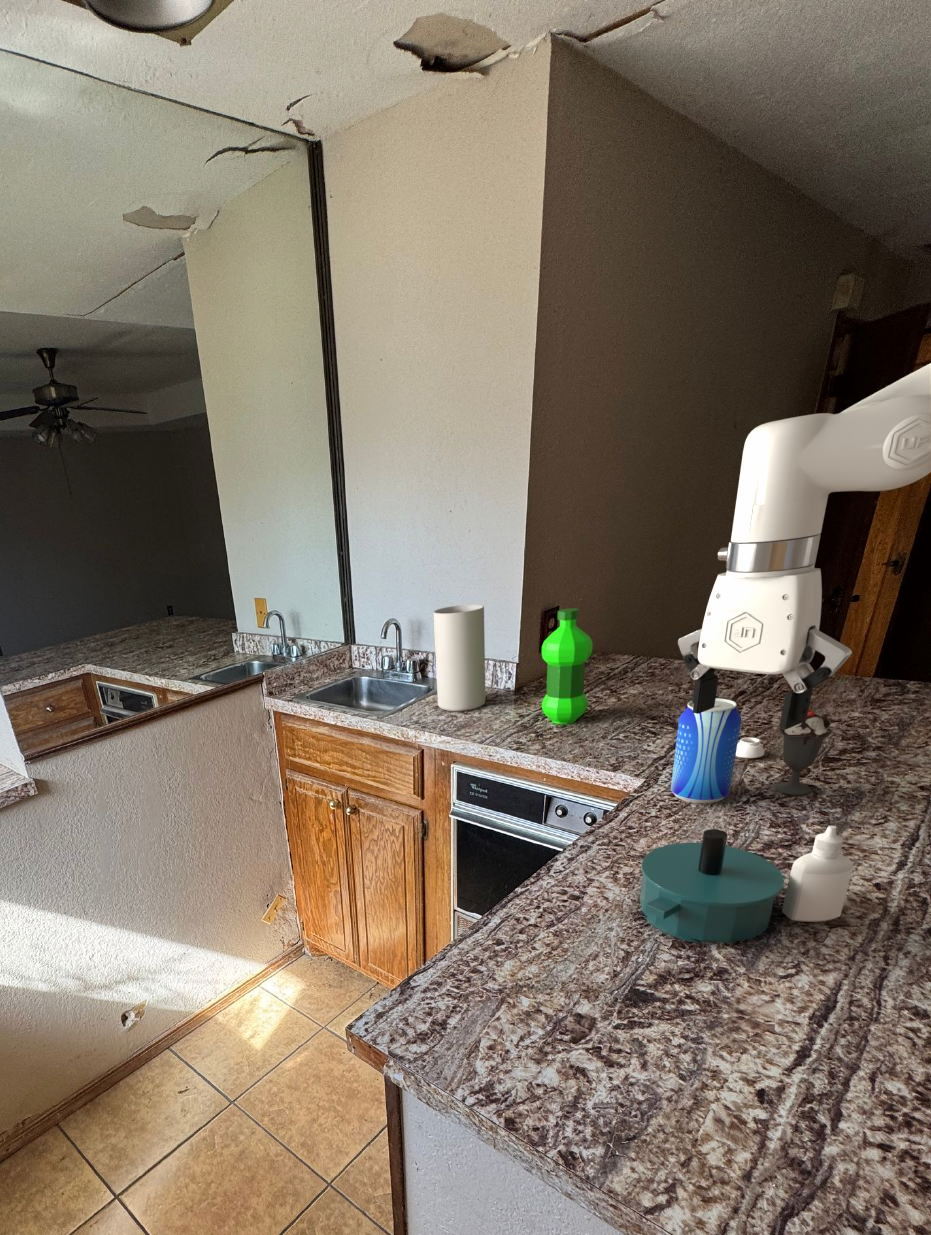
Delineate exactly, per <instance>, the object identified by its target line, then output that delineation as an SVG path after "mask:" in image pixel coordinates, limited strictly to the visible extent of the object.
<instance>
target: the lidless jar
mask: <svg viewBox="0 0 931 1235" xmlns="http://www.w3.org/2000/svg"><path fill="white" fill-rule="evenodd" d="M763 756H765V748H764V746H763V744H762V743H761V739H759V738H757V737H750V736H749V737H742V738H740V740H739V741H738V744H737V750H736V756H735V757H738V758H742V759H758V758H761V757H763Z"/></svg>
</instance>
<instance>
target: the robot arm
mask: <svg viewBox="0 0 931 1235" xmlns="http://www.w3.org/2000/svg"><path fill="white" fill-rule="evenodd" d="M739 472H740V473H739V480H738V487H737V494H736V499H735V507H734V508H735V509H734V515H733V522H732V531H731V538H730V542H728V546H725V547H721V548H720V549H719V550H718V552H717V559H718V561H725V562H726V564H725V568H726V572H722V573H718V574H717V577H716V578H715V579H716V580H715V582H714V584H713V587H712V590H711V593H710V595H709V599H708V602H707V605H706V610H705V614H704V618H703V622H702V627H701V628H700V629H698V630H696V631H693V632H691V633H689V634H687V635H685V636H682V637H680V638H679V639H678V640H677V645H678V648H679V651H680V654H681V656H683V657H682V663H683V664H684V665H685V667H686V668H687V670H688V671H689V672H690V678H691V679H692V680H694V685H693V691H692V700H691V701H692V702H693V703H694V705H693V713H696V714H699V713H702V712H704V711H707V710H709V709H712V708H714V706H715V699H716V698H717V692H718V685H719V676H718V674H715V673H716V672H717V671H718V670H725V671H734V672H743V673H752V674H759V675H761V674H762V675H771V676H774V675H782V676H783V677H784V679H785V680H786V682H787V683H788V685H789V686H790V688H791V690H790V691H788V692H786V693H785V694H784V698H783V704H782V709H781V715H780V721H779V728H780V727H781V728H782V729H789V728H791V727H793V726H796V725H798V724H800V723H801V722H802V721H803V720H804V719H805V718H806V717H807V714H808V710H809V709H810V706H811V700H812V694H813V690H814V689H815V688H817V687H818V686H820V685H821V684H823V683H824V682H825V681H827V680H828V679H830V678H833V676H835V675H836V674H837V672H838V670H839V669H841V667H842V666H843V665H844V664H845V663H846V661H848V659H849V658H850V657H851V656H852V654H853V651H852V649H851V648H850V647H849V646H846V645H845V644H843V643H841V642H840V641H837V640H836V639H835V638H833V637H831V636H829V635H828V634H826V633H824V632H822V631H820V625H821V616H822V599H823V598H822V596H823V586H822V572H821V571H822V570H821V568H817V567H815V565H816V561H817V555H818V551H819V545H820V540H821V533H822V530H823V524H824V518H825V514H826V508H827V504H828V498H829V495H830V494H831V493H838V492H883V491H884V492H885V491H891V490H895V489H899V488H903V487H905V486H908V485H910V484H913V483H915V482H918V481H919V480H921V479H922V478H924V477H926V476H928V475H929V474H930V473H931V362H930V363H929V364H926V365H925V366H922V367H920V368H919V369H917V370H915V371H913V372H910V373H909V374H908V375H907V374H906V375H905V376H904V377H902V378H899V379H898V380H896V381H895V382H893V383H891V384H889V385H886V386H885V387H884V388H881V389H880V390H878V391H876V392H874V393H873V394H870V395H869V396H867V397H865V398H863V399H861V400H860V401H858V402H856V403H854V404H853V405H851V406H849V407H847V408H846V409H844V410H842V411H841V412H839V413H829V412H825V413H824V412H823V413H821V412H819V413H812V414H806V415H805V414H804V415H800V416H794V417H789V418H788V417H787V418H783V419H779V420H773V421H769V422H765V423H762V424H760V425H758V426H756V427H754V428H753V429H752V430H751V431H750V432H749V433H748V435H747V437H746V439H745V442H744V446H743V450H742V458H741V464H740V471H739ZM816 652H818V653H819V654H821V655H823V656H824V661H823V662H822V664H821V665H820V666H819V668H817V669H815V670H814V668H813V667H812V665H811V664H810V663H811V662H812V661H813V658H814V656H815V653H816ZM809 711H810V710H809Z"/></svg>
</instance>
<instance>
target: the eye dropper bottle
mask: <svg viewBox="0 0 931 1235" xmlns="http://www.w3.org/2000/svg"><path fill="white" fill-rule="evenodd" d="M843 843H844V839H843V838H842V837H841V836H840V835H838V834H837V826H835V825H828V826H827V828H826V830H825V831H824V832H822V833H817V834H816V835H815V837H814V843H813V847H812V850H811V852H808V853H806V854H804V855H802V856H800V857H798V858H797V859H795V860H794V862H793V863H792V866H791V870H790V873H789V878H788V882H787V886H786V892H785V896H784V900H783V903H782V904H783V905H782V909H781V912H782V913H783V914H784V915H785V917H787V918H788V919H790V920H792V921H797V922H808V923H809V922H810V923H812V922H813V923H814V922H826V921H831V920H834V919H838V918H839V917H841V915H842V912H843V908H844V904H845V901H846V897H847V893H848V889H849V885H850V883H851V878H852V874H853V869H854V863H853V862H852V860H851V859H849V858H848V857H847V856H845V855H843V854H841V851H842V848H843Z"/></svg>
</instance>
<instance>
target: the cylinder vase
mask: <svg viewBox="0 0 931 1235" xmlns="http://www.w3.org/2000/svg"><path fill="white" fill-rule="evenodd" d="M433 631H434V652H435V653H434V654H435V655H434V656H435V675H436V695H437V706H438V708H440V709H441V710H443V711H448V712H465V711H471V710H476V709H478V708H480V707H482V706H484V705H485V703H486V649H485V648H486V647H485V605H483V604H475V603H473V604H472V603H471V604H460V605H459V604H457V605H452V606H446V607H441V608H437V609H435V610H433Z"/></svg>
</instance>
